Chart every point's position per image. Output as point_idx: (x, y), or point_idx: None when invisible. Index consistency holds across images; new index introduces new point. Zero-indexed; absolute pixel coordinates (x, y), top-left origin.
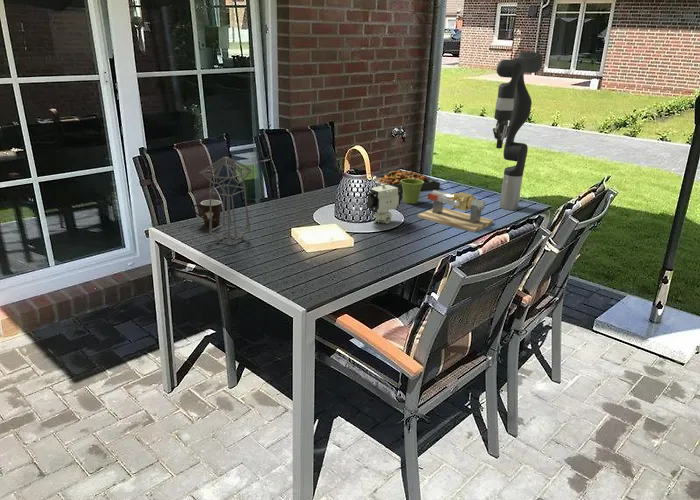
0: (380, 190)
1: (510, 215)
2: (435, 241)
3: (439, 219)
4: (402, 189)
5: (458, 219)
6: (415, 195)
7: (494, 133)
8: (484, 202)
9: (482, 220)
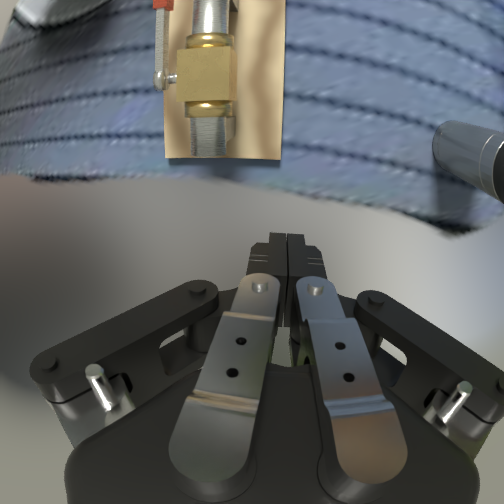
0: None
1: (388, 172)
2: (61, 130)
3: None
4: None
5: None
6: None
7: (104, 334)
8: (216, 155)
9: (252, 136)
